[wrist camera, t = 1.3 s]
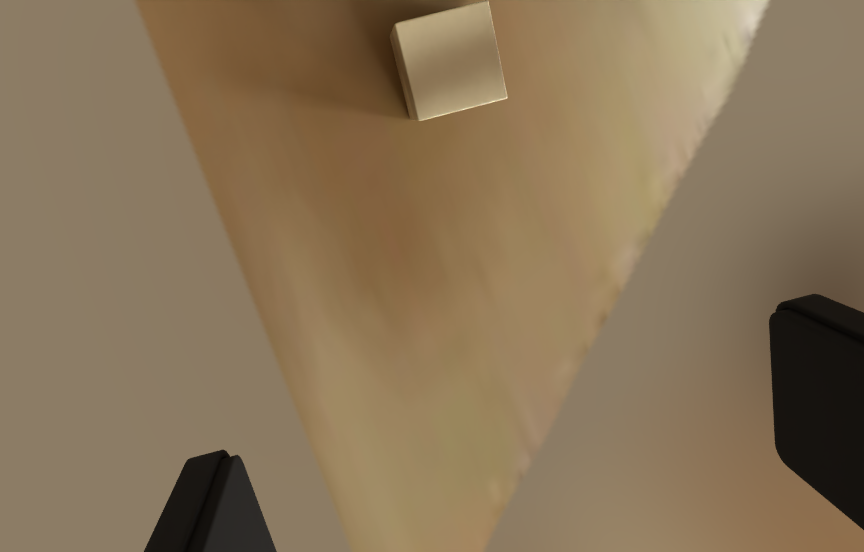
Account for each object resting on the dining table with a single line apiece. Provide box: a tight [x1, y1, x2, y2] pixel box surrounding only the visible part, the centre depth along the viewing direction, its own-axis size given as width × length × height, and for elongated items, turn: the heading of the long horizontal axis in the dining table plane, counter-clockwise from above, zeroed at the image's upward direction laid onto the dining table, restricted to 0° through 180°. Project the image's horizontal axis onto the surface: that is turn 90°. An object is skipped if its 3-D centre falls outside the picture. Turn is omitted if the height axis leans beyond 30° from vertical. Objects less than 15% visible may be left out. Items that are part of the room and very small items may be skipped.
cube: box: [390, 0, 507, 121], centre depth 30 cm, size 4×4×4 cm
